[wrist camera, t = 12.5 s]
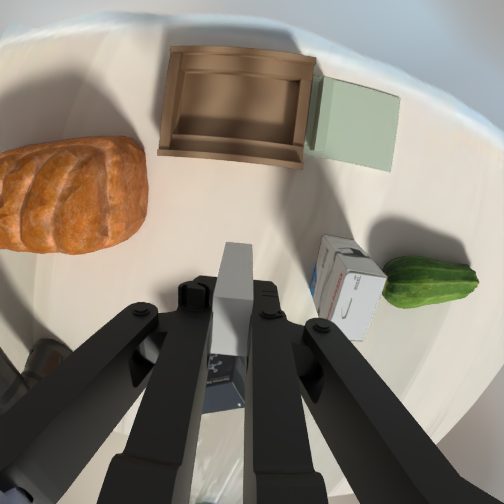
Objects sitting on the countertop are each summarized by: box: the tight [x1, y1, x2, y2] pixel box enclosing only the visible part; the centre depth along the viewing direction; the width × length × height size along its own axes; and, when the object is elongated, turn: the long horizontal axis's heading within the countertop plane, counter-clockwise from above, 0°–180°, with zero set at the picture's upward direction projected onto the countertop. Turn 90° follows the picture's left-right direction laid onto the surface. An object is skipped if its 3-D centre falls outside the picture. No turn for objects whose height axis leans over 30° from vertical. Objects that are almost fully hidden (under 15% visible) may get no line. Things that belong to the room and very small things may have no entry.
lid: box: [303, 75, 400, 172], centre depth 32 cm, size 12×10×4 cm
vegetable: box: [382, 256, 479, 309], centre depth 37 cm, size 7×7×20 cm
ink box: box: [310, 235, 387, 342], centre depth 35 cm, size 8×5×12 cm, turn 171°
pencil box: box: [157, 46, 316, 170], centre depth 31 cm, size 16×13×5 cm
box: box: [202, 350, 247, 414], centre depth 41 cm, size 8×6×11 cm
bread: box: [0, 136, 148, 255], centre depth 30 cm, size 14×26×16 cm, turn 86°
